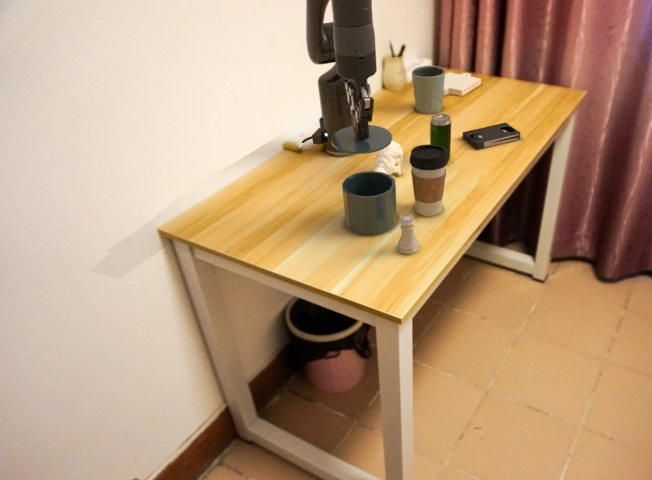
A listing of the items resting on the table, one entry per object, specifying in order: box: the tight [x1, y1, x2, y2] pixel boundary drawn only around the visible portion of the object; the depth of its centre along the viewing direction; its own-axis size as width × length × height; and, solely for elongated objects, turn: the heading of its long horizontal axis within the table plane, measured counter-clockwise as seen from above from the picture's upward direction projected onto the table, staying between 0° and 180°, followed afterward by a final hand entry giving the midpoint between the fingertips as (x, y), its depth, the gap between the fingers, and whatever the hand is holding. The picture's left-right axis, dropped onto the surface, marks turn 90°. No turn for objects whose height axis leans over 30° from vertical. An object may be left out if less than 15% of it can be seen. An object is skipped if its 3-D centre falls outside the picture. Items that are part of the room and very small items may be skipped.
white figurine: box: [372, 140, 405, 176], centre depth 134 cm, size 6×8×12 cm
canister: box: [341, 170, 398, 236], centre depth 119 cm, size 11×11×10 cm
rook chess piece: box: [397, 213, 420, 255], centre depth 111 cm, size 4×4×8 cm
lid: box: [331, 113, 393, 155], centre depth 109 cm, size 12×12×6 cm
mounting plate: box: [443, 71, 482, 97], centre depth 186 cm, size 18×13×2 cm
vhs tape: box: [462, 122, 521, 150], centre depth 152 cm, size 14×8×2 cm, turn 114°
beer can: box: [429, 113, 452, 163], centre depth 140 cm, size 5×5×12 cm
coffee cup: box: [409, 143, 449, 217], centre depth 120 cm, size 8×8×15 cm
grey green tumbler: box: [411, 65, 446, 115], centre depth 168 cm, size 10×10×12 cm
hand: (361, 134), depth 110 cm, fingers closed on lid, 2 cm apart
